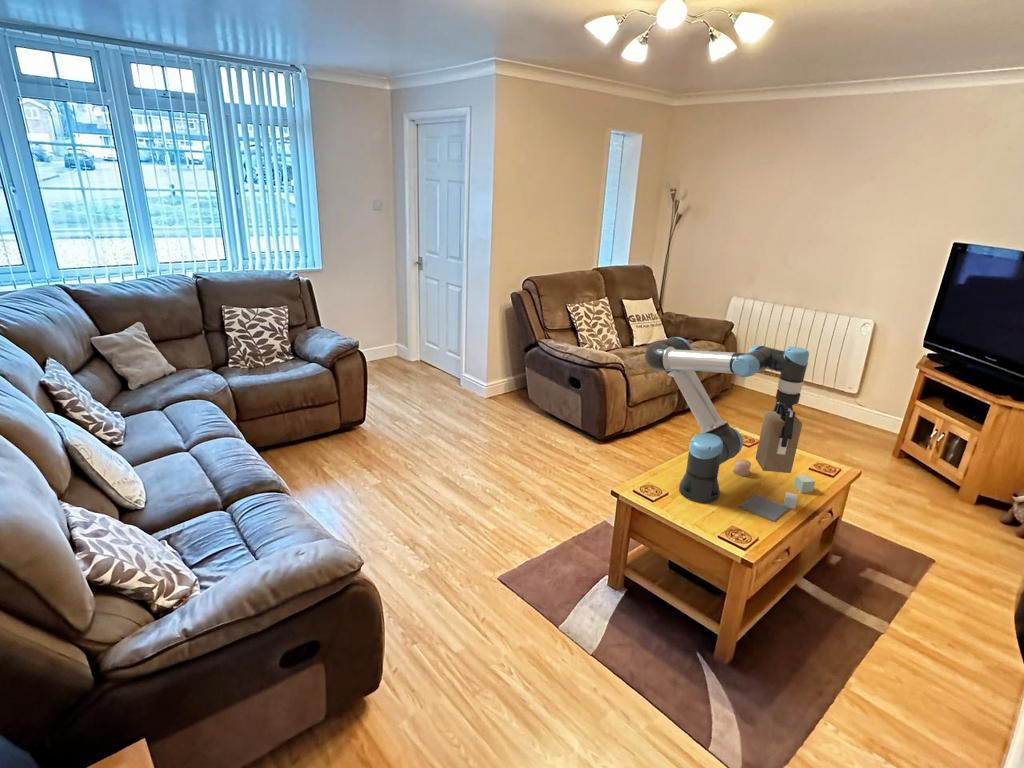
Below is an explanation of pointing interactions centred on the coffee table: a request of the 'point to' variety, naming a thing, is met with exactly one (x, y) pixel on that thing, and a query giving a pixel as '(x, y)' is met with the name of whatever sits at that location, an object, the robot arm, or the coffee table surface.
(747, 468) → the pale pink rounded piece
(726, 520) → the coffee table surface
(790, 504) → the pale blue cube
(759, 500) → the slate mat
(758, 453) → the wooden block
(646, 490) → the coffee table surface
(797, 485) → the sage cube
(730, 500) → the coffee table surface
